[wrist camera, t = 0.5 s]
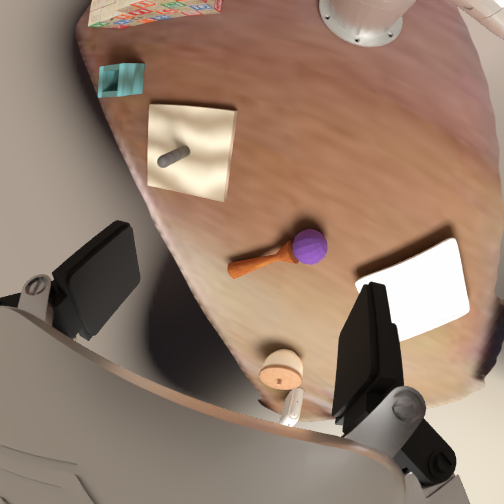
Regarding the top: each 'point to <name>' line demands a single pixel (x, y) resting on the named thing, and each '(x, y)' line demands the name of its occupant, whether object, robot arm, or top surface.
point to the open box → (121, 79)
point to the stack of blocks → (146, 11)
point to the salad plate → (424, 289)
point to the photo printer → (292, 407)
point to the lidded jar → (282, 370)
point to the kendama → (287, 253)
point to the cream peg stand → (190, 149)
